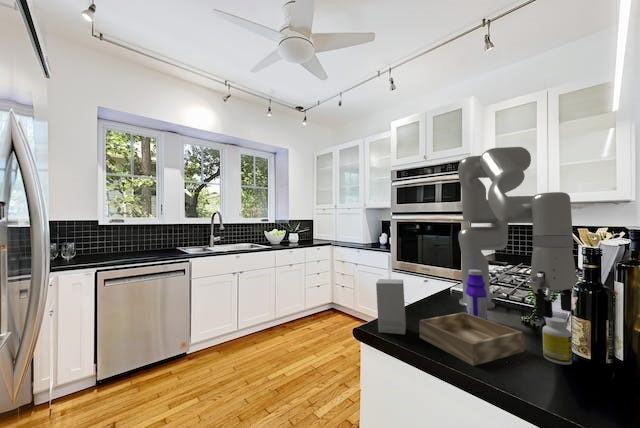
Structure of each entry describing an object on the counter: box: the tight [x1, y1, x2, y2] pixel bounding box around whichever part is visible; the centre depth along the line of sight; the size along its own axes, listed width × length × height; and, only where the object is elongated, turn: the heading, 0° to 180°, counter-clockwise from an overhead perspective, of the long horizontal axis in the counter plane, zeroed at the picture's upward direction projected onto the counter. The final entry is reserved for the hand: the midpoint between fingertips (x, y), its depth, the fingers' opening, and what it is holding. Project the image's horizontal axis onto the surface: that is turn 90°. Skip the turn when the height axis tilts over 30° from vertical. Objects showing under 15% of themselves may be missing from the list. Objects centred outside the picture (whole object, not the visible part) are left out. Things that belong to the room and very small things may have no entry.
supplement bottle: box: [542, 316, 573, 366], centre depth 68 cm, size 5×5×10 cm
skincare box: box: [375, 278, 407, 335], centre depth 88 cm, size 8×7×16 cm
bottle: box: [466, 270, 488, 320], centre depth 94 cm, size 7×6×17 cm
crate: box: [418, 311, 525, 367], centre depth 77 cm, size 18×18×5 cm
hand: (557, 313), depth 68 cm, fingers open, 9 cm apart
